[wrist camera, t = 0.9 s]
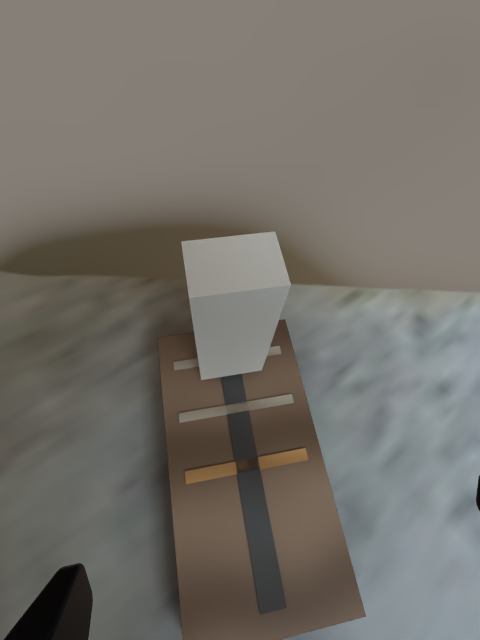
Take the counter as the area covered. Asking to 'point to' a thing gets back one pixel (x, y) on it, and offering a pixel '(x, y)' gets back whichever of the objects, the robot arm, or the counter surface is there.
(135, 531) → the counter surface
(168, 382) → the console
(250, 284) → the fader
